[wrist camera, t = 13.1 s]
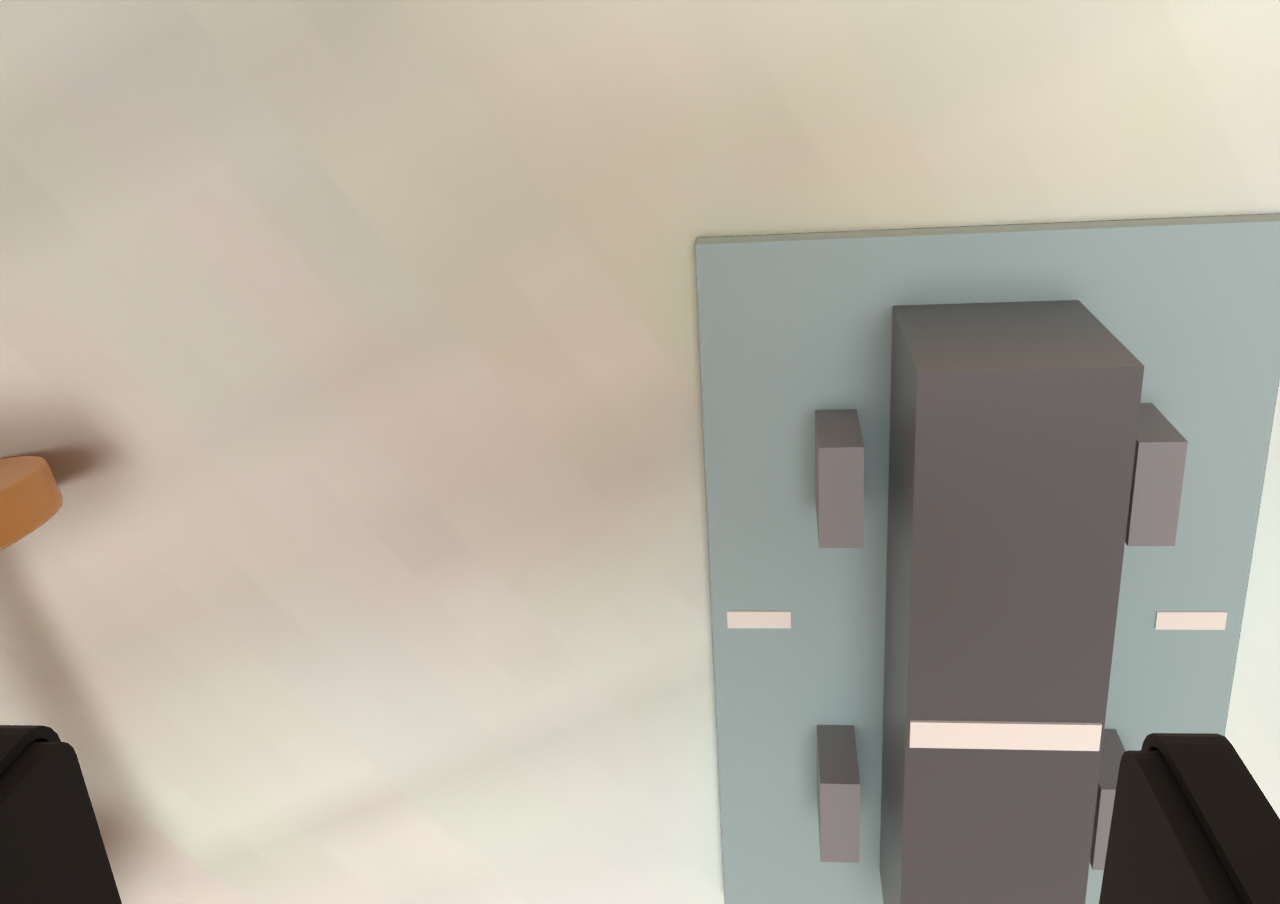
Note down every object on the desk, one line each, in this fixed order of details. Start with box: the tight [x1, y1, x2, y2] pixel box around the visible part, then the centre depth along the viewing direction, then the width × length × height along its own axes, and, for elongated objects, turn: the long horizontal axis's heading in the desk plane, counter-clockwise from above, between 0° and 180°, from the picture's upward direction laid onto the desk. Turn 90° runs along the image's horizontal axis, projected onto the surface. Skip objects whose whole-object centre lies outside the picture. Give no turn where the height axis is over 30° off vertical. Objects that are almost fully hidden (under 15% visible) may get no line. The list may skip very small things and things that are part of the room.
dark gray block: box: [880, 300, 1144, 904], centre depth 32 cm, size 20×5×6 cm, turn 4°
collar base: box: [695, 214, 1280, 904], centre depth 34 cm, size 16×24×4 cm, turn 4°
